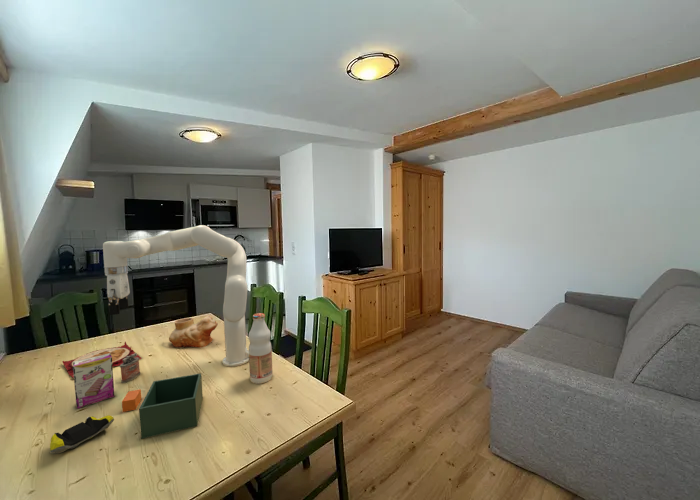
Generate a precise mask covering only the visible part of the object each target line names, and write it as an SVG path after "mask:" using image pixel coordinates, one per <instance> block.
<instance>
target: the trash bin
mask: <svg viewBox="0 0 700 500" xmlns="http://www.w3.org/2000/svg"><path fill="white" fill-rule="evenodd" d="M202 379H203V378H202V372H200V373H199V372H198V373H193V374H188V375H187V374H186V375H183V376H177V377H170V378H165V379H158V380H153V382H152V383H151V385H150V387H149V389H148V390H147V393H146V395H145V397H144V398H143V399H142V400H143V401H142V403H141V404H140V406H139V408H138V414H139V427H140V428H139V429H140V439H141V440H142V439H148V438H151V437H157V436H159V435H160V436H161V435H165V434H170V433H173V432H178V431H183V430H187V429H191V428H196V427H198V424H199V418H200V415H201V414H200V413H201V408H202V403H203V399H204V397H203V395H204V394H203V380H202Z"/></svg>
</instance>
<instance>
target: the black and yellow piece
mask: <svg viewBox="0 0 700 500" xmlns="http://www.w3.org/2000/svg"><path fill="white" fill-rule="evenodd" d="M114 421H115V418H114V416H112V415H109V414H108V415H104V416H103V417H99V418H97V417H95V416H93V415H92V416H87V417H86V419H85V421H80V422H79V423H77V424H75V425H73V426H70V427H68V428H66V429H65V430H64V431H62V433H60V432H54V433H53V434H52V436H51V438H50V443H49V452H50V454H62V453H63V452H65V451H67V450H73V449H75V448H77V447H78V446H79V445H80V444H82V443H83V442H85V441H87V440H91V439H92V438H93V437H95V436H97V435H98V434H99V433H101V432H103V431H105V430H106V429H108V428H109V427H110V426H111V424H112V423H113V422H114Z"/></svg>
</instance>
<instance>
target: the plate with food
mask: <svg viewBox="0 0 700 500" xmlns="http://www.w3.org/2000/svg"><path fill="white" fill-rule="evenodd" d="M109 353H110V354H111V356H112V367H113V368H114V367H120V365H121V364H122V363H123V359H124V358H126V356H131V355H132V354H134V353H136V352H135V351H134V349H132V346H129V345H128V344H127V342H126V341H124V343H123V344H122V345H121V346H115V347H114V346H113V347H107V348H101V349H98V350H97V349H96V350H93V351H90V352H88V353H87V352H86V353H84V354H82V355H79V356H78V357H76V358H74V359H70V360H62V361H61V362H62V364H63V366H64V368H65V369H66V372H67V374H68V375H69V376H70V377H71V378H73V379H74V372H73V362H75V361H79V360H83V359H88V358H92V357H96V356H100V355H105V354H109ZM136 357H138V358H139V360H141V359H143V358H142V357H141V356H140V355H138V354H137V356H136ZM136 357H134V358H136Z"/></svg>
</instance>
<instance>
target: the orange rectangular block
mask: <svg viewBox="0 0 700 500" xmlns="http://www.w3.org/2000/svg"><path fill="white" fill-rule="evenodd" d="M142 400H143V399H142V389H139V388H138V389H134V390H128V391H127V393H126V394H125V396H124V397H123V399H122V401H121V408H122V413H126V412H131V411H137V409H138V406H139V405H140V403H141V401H142Z"/></svg>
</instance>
